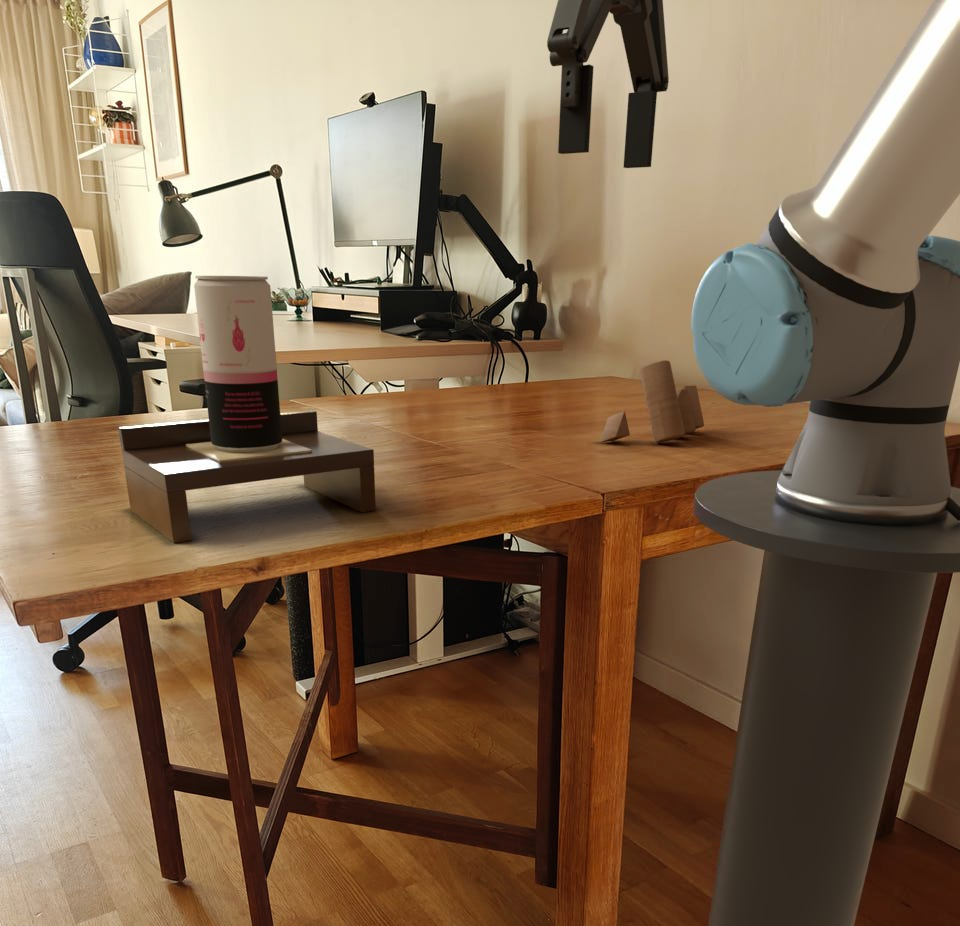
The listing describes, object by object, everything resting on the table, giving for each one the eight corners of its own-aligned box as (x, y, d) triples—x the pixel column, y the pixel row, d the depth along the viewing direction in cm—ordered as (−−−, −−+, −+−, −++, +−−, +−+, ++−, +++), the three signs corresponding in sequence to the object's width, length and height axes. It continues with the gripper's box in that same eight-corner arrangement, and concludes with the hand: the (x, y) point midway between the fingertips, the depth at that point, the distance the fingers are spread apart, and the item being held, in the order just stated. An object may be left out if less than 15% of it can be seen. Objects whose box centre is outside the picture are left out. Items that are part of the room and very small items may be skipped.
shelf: (376, 510, 85) (373, 428, 82) (173, 543, 74) (161, 450, 71) (317, 484, 95) (312, 410, 92) (130, 510, 84) (117, 427, 81)
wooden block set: (681, 445, 131) (667, 378, 130) (729, 429, 124) (715, 358, 123) (602, 455, 120) (586, 381, 119) (650, 438, 113) (634, 360, 112)
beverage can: (288, 440, 85) (276, 276, 79) (274, 453, 79) (260, 277, 73) (222, 439, 85) (205, 275, 79) (203, 453, 79) (183, 276, 73)
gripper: (644, -69, 85) (627, 173, 94) (510, -168, 66) (503, 148, 75) (718, -84, 81) (693, 170, 90) (598, -193, 62) (580, 142, 71)
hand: (607, 161), depth 82 cm, fingers open, 13 cm apart
